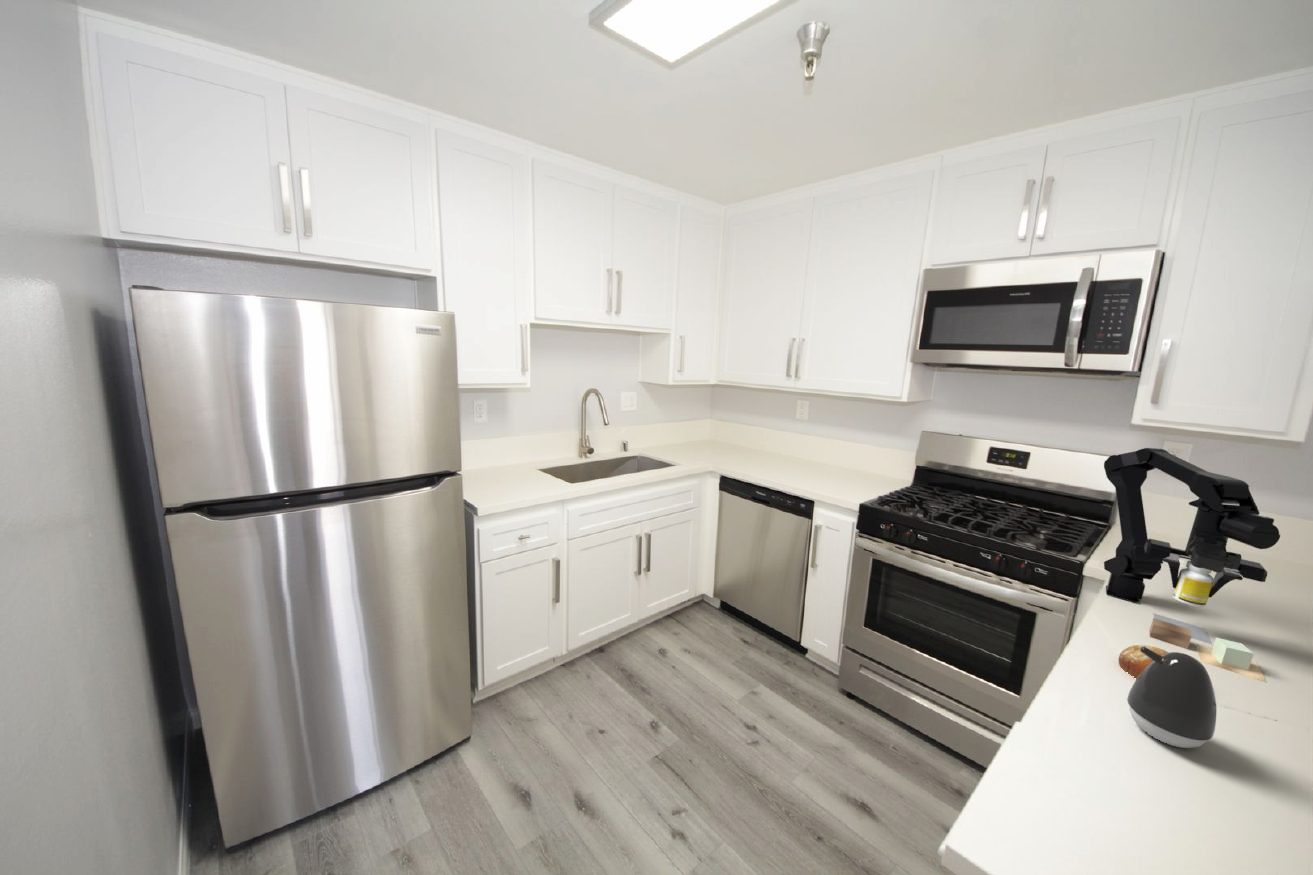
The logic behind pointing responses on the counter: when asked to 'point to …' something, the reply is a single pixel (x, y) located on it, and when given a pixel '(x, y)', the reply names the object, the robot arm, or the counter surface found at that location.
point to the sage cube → (1232, 654)
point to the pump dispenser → (1174, 700)
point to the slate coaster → (1196, 631)
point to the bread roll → (1137, 659)
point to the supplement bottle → (1193, 586)
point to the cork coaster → (1210, 659)
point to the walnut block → (1170, 633)
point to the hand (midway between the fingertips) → (1191, 592)
